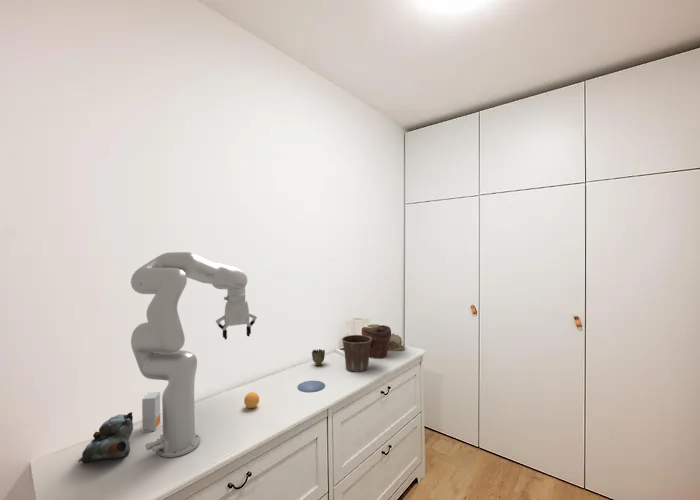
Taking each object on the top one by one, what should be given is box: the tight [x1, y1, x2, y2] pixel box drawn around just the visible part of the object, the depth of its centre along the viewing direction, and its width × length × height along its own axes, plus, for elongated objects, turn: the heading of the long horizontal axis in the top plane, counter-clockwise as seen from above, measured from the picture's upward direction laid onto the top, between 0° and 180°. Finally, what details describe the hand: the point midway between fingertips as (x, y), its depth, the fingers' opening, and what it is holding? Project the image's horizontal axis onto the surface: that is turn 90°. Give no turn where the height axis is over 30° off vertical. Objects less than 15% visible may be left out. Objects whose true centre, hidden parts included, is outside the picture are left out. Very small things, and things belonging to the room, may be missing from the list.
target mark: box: [296, 380, 326, 393], centre depth 158 cm, size 13×13×1 cm
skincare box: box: [141, 391, 161, 433], centre depth 123 cm, size 6×4×12 cm
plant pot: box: [341, 334, 372, 373], centre depth 181 cm, size 16×16×16 cm
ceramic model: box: [388, 332, 406, 352], centre depth 215 cm, size 14×11×10 cm
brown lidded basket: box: [360, 324, 392, 359], centre depth 203 cm, size 18×20×18 cm
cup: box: [311, 348, 326, 367], centre depth 187 cm, size 8×7×8 cm
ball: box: [243, 391, 260, 409], centre depth 137 cm, size 6×6×6 cm
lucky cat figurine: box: [77, 411, 134, 463], centre depth 107 cm, size 15×12×14 cm
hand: (237, 337), depth 148 cm, fingers open, 9 cm apart
